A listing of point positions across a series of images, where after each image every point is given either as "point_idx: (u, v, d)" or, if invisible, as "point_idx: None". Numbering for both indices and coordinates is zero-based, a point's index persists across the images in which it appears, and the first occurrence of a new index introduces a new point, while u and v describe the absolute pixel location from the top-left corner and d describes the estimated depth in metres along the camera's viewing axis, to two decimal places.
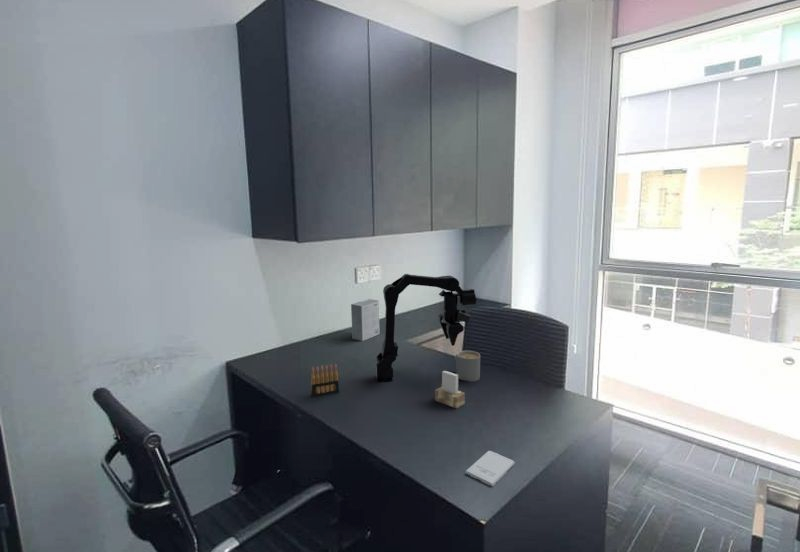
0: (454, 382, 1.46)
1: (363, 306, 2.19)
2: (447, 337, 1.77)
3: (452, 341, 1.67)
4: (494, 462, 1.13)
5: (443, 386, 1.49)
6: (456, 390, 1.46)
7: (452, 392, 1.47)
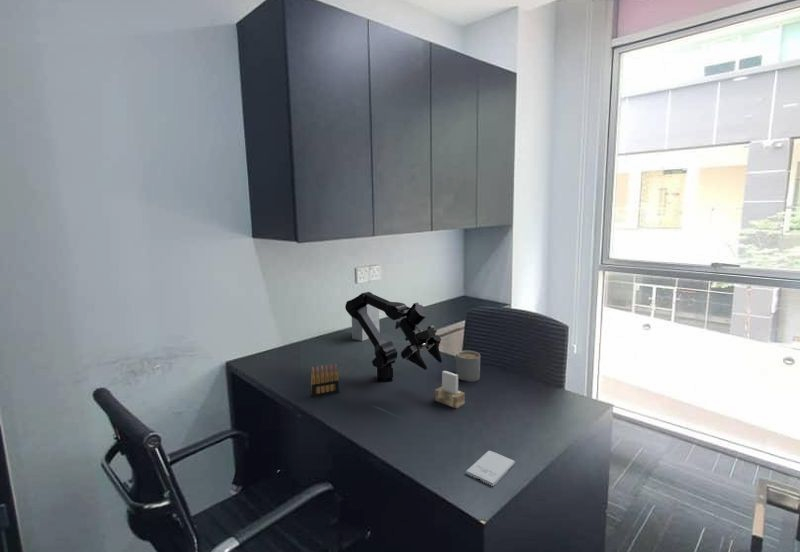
0: (454, 382, 1.46)
1: None
2: (439, 361, 1.56)
3: (421, 365, 1.49)
4: (494, 462, 1.13)
5: (443, 386, 1.49)
6: (456, 390, 1.46)
7: (452, 392, 1.47)
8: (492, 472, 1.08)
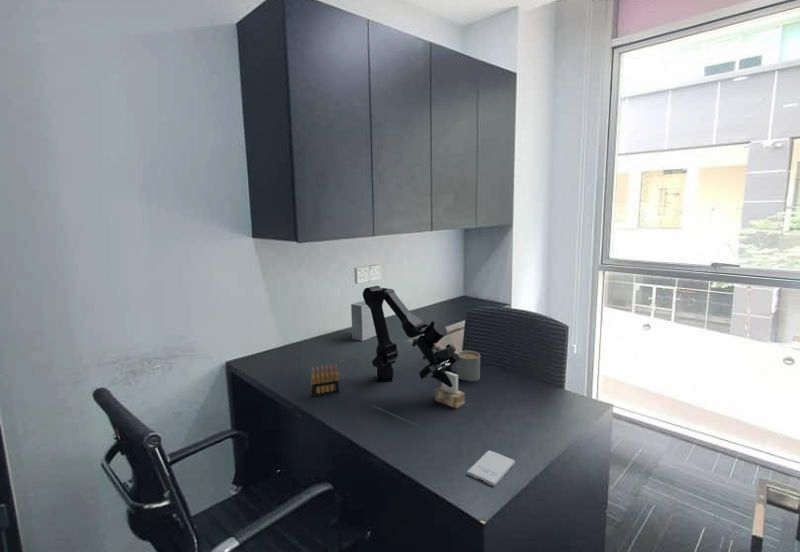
0: (454, 382, 1.46)
1: (363, 306, 2.19)
2: None
3: (446, 383, 1.47)
4: (495, 461, 1.13)
5: (443, 386, 1.49)
6: (456, 390, 1.46)
7: (452, 392, 1.47)
8: (493, 472, 1.08)
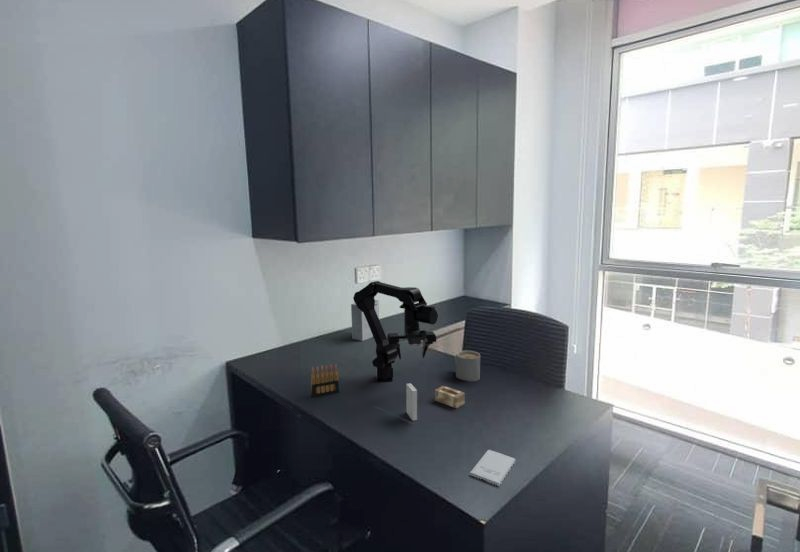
0: (412, 397, 1.35)
1: None
2: (422, 356, 1.61)
3: (397, 353, 1.60)
4: (496, 461, 1.13)
5: (407, 399, 1.40)
6: (414, 406, 1.35)
7: (411, 408, 1.37)
8: (496, 472, 1.08)
